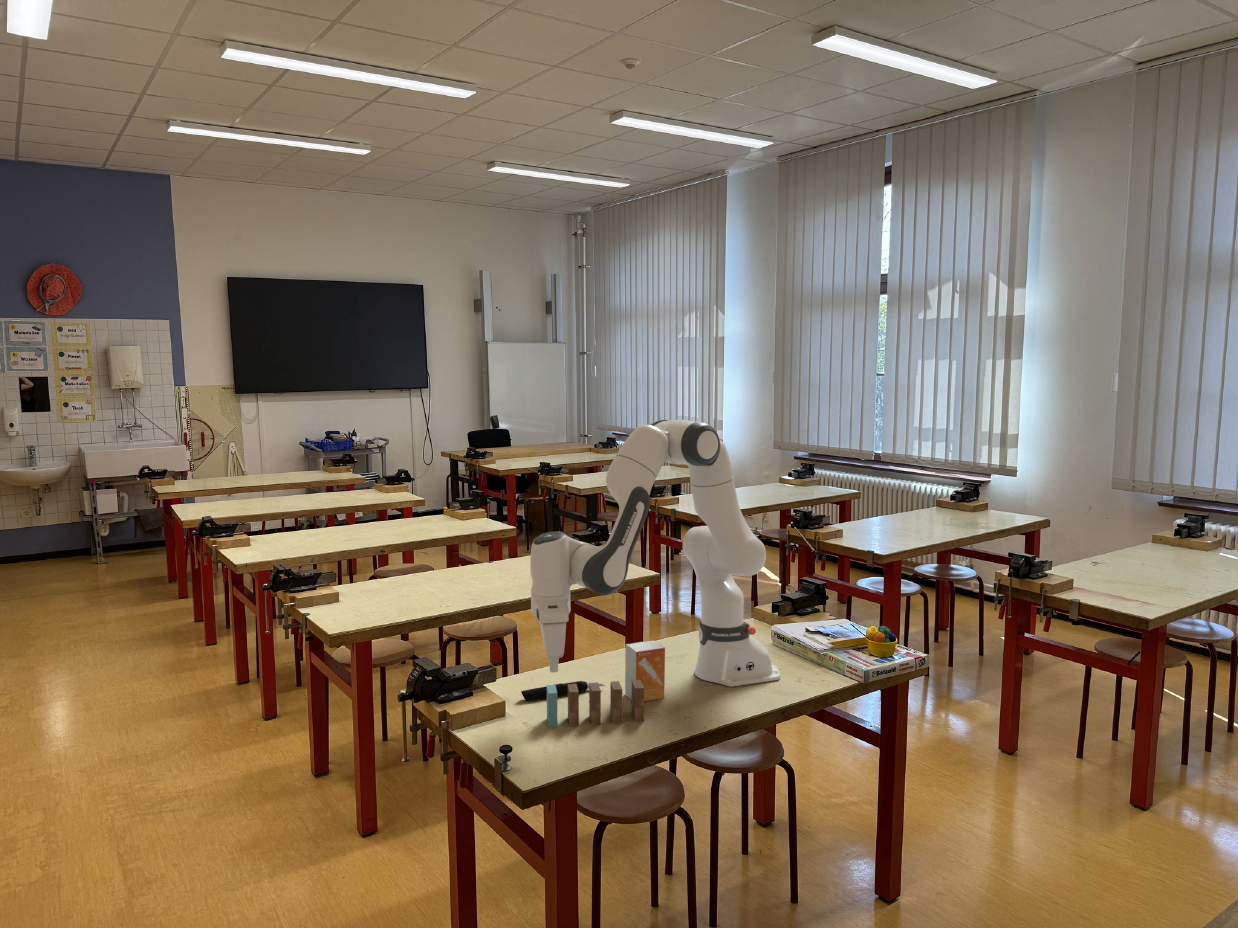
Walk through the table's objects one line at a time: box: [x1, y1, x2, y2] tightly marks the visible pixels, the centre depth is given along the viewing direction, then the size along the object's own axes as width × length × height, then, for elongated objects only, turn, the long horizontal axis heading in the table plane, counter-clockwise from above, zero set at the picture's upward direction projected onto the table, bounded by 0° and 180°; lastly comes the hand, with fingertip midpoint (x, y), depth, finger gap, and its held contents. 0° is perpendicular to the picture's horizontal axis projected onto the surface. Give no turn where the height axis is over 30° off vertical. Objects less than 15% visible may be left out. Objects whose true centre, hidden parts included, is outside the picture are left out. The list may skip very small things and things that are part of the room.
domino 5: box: [631, 680, 645, 723], centre depth 193 cm, size 2×5×8 cm, turn 9°
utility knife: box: [521, 680, 607, 702], centre depth 207 cm, size 22×4×3 cm, turn 114°
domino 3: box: [588, 681, 602, 726], centre depth 192 cm, size 2×5×8 cm, turn 9°
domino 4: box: [609, 680, 623, 724], centre depth 193 cm, size 2×5×8 cm, turn 9°
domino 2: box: [567, 684, 580, 727], centre depth 191 cm, size 2×5×8 cm, turn 9°
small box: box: [624, 639, 666, 702], centre depth 206 cm, size 8×6×13 cm
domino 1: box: [546, 684, 558, 729], centre depth 190 cm, size 2×5×8 cm, turn 10°
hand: (552, 663), depth 189 cm, fingers open, 8 cm apart
